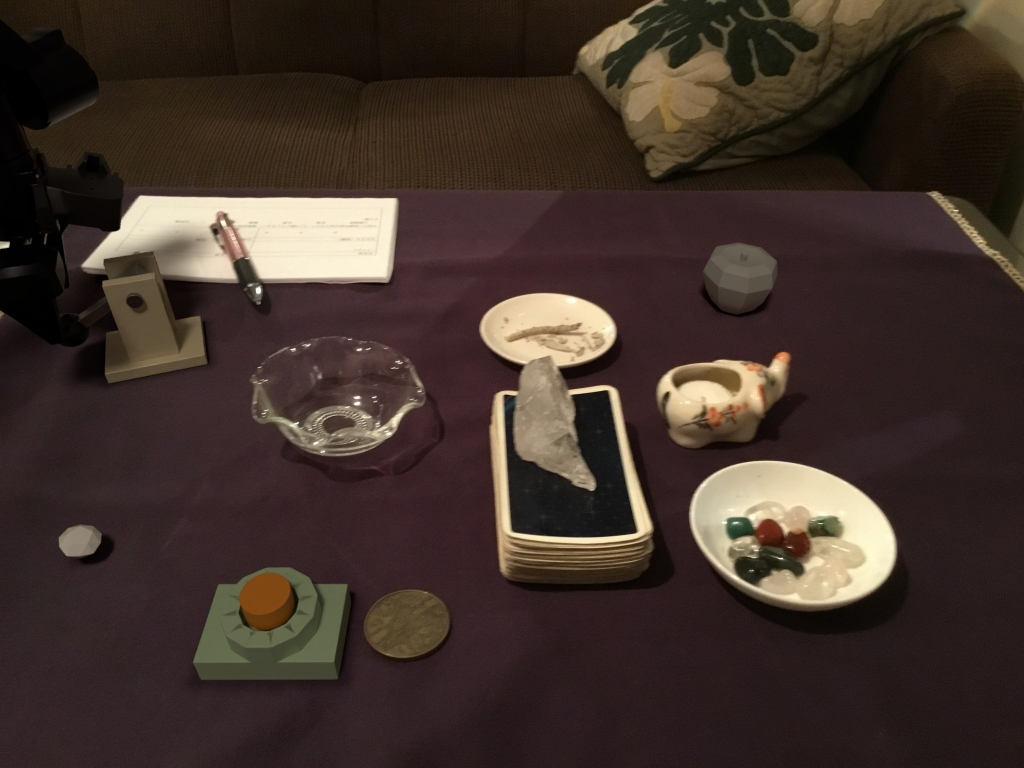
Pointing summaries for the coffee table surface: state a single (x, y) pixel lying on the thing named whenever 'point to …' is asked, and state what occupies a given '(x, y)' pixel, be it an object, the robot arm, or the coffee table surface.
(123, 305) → the lever bracket
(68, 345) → the press lever
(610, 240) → the coffee table surface
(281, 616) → the button
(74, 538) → the gemstone
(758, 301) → the apple
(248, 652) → the button block
